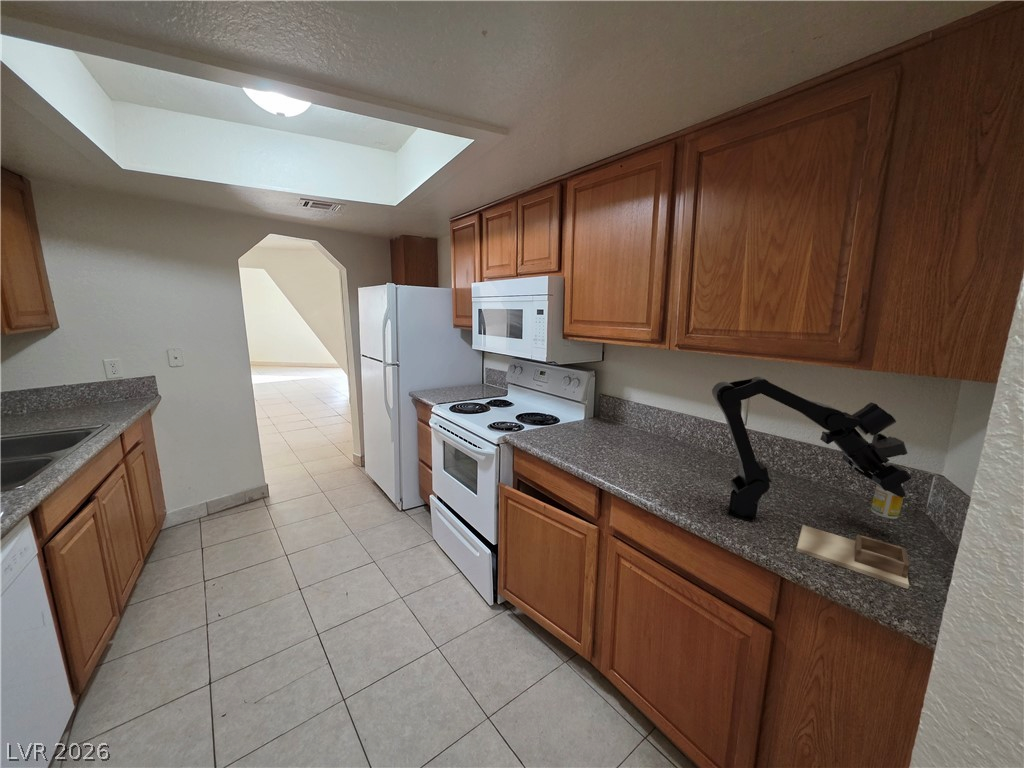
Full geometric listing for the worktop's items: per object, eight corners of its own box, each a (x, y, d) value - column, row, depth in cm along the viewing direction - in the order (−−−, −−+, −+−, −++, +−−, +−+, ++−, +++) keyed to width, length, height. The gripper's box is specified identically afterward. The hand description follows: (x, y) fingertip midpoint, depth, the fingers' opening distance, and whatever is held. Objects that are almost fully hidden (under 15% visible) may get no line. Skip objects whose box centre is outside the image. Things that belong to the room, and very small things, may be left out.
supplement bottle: (870, 513, 103) (878, 479, 101) (870, 506, 107) (878, 473, 105) (898, 521, 99) (907, 486, 97) (898, 514, 103) (906, 480, 101)
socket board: (796, 551, 96) (798, 536, 95) (802, 528, 106) (804, 514, 105) (908, 589, 83) (912, 572, 82) (902, 558, 94) (905, 543, 93)
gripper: (910, 438, 91) (958, 490, 90) (864, 417, 108) (904, 460, 107) (862, 465, 94) (908, 515, 93) (825, 441, 112) (863, 483, 111)
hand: (896, 491), depth 101 cm, fingers closed on supplement bottle, 5 cm apart
